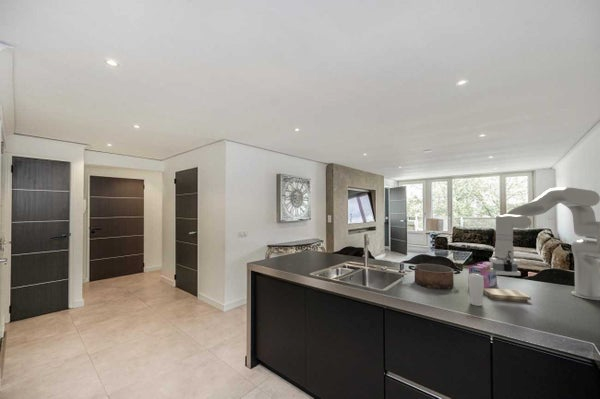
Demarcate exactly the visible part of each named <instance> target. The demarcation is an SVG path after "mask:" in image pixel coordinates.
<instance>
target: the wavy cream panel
mask: <svg viewBox="0 0 600 399" xmlns="http://www.w3.org/2000/svg"><path fill="white" fill-rule="evenodd" d="M483 293H484V295H486V296H487V297H489V298H490V299H491V300H494V301H495V300H496V301H506V300H508V301H507V302H520V301H521V302H522V303H527V302H528V301H531V300H532V298H531V296H529V295H527V294H525V293H524V292H523V291H520V290H518V289H505V288H502V289H501V288H490V287H489V288H484V289H483Z"/></svg>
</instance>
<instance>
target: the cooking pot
mask: <svg viewBox="0 0 600 399" xmlns="http://www.w3.org/2000/svg"><path fill="white" fill-rule="evenodd" d="M408 270H411V271H414V283H415V284H416V285H418V286H420V287H422V288H426V289H432V290H441V291H444V290H445V291H446V290H451V289H453V288H454V286H455V285H454V282H455V280H454V275H459V274H461V271H460V270H459V269H456V268H454V269H453V268H451V267H449V266H446V265H442V264H434V263H419V264H415V265H408Z"/></svg>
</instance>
